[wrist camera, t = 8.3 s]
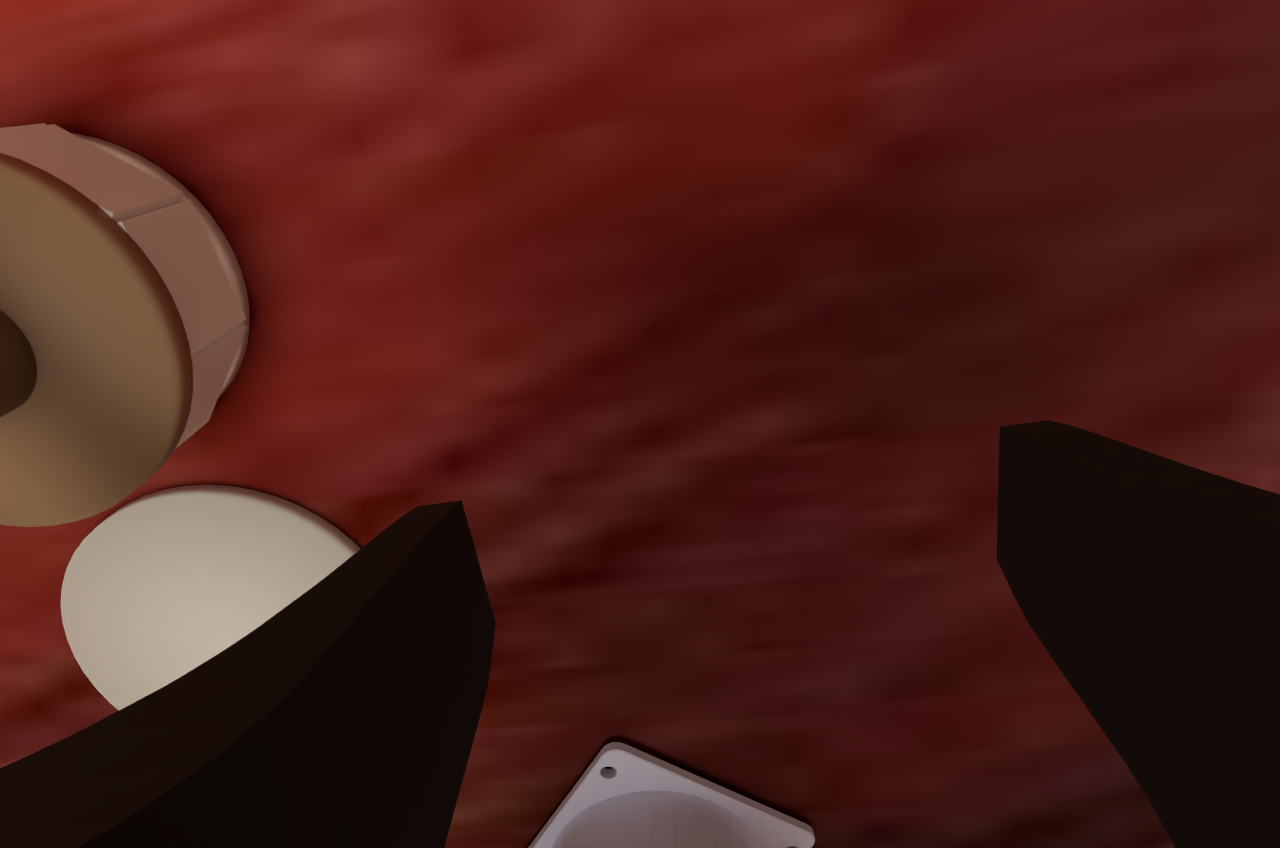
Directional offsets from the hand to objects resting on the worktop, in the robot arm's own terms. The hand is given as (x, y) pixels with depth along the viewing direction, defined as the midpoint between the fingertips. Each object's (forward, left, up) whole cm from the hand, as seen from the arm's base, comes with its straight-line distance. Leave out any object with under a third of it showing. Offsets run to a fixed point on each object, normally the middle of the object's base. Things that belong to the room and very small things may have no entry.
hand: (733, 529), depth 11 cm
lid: (-7, +13, -7) cm, 16 cm away
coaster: (-15, +7, -10) cm, 19 cm away
